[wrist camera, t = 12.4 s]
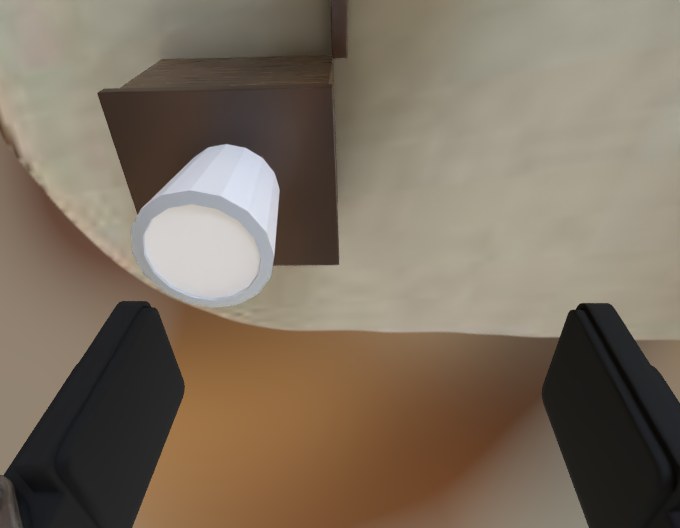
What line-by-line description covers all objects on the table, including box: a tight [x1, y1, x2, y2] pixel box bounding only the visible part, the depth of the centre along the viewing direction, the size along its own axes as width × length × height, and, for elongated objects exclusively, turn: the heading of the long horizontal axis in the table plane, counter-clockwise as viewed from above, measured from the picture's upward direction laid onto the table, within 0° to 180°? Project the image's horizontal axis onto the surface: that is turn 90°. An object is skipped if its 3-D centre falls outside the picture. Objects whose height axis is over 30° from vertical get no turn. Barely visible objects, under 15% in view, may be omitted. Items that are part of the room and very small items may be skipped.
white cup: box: [131, 144, 280, 308], centre depth 25 cm, size 7×7×7 cm
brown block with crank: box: [98, 0, 348, 266], centre depth 27 cm, size 14×27×9 cm, turn 2°
